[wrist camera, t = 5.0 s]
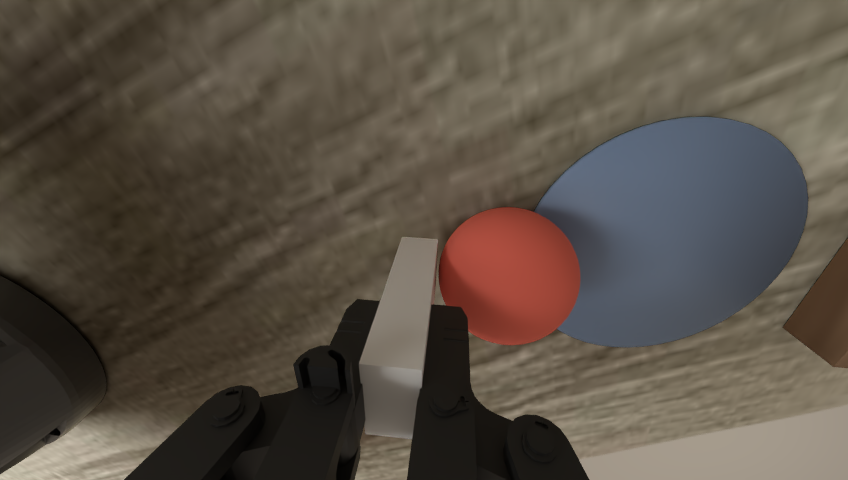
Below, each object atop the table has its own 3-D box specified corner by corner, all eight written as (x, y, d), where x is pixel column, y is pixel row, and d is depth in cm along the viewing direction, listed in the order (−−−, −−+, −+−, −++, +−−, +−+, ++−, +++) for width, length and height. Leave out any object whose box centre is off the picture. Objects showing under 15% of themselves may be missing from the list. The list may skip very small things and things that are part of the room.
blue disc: (503, 336, 18) (504, 338, 18) (547, 110, 13) (548, 111, 13) (724, 352, 18) (727, 355, 18) (872, 122, 12) (878, 123, 12)
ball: (440, 377, 12) (585, 377, 12) (449, 248, 9) (634, 250, 10) (432, 288, 17) (536, 288, 17) (437, 187, 14) (560, 189, 14)
